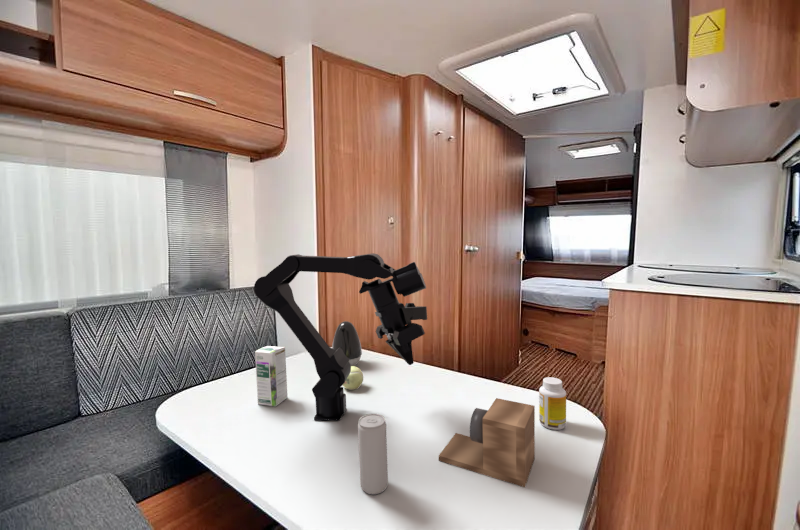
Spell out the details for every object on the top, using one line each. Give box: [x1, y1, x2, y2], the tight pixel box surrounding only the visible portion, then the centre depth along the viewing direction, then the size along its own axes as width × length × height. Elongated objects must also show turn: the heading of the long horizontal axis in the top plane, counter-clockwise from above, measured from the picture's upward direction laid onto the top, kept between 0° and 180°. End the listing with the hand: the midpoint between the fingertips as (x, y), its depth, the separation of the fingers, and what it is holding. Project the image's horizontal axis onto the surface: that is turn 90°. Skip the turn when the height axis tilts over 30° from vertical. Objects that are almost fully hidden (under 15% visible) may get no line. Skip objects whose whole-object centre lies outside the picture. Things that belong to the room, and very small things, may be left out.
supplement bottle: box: [538, 376, 567, 431], centre depth 81 cm, size 6×6×10 cm
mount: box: [438, 397, 536, 488], centre depth 69 cm, size 16×9×10 cm, turn 60°
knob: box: [469, 407, 489, 444], centre depth 68 cm, size 8×6×6 cm
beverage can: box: [357, 413, 389, 496], centre depth 62 cm, size 5×5×12 cm
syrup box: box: [254, 345, 289, 407], centre depth 97 cm, size 6×6×14 cm
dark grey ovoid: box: [331, 320, 363, 367], centre depth 122 cm, size 10×10×15 cm
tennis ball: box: [342, 365, 364, 391], centre depth 104 cm, size 6×7×7 cm
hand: (411, 364), depth 86 cm, fingers closed
